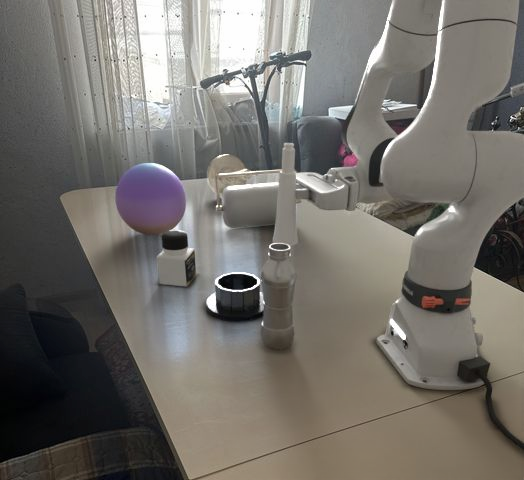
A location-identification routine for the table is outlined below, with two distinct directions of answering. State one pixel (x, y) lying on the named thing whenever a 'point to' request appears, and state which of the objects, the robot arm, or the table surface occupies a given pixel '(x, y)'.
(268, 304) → the plastic bottle
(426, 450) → the table surface
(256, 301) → the stand
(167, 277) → the medicine bottle
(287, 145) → the cosmetic bottle
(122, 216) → the ball
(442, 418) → the table surface
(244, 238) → the table surface
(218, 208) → the lamp
